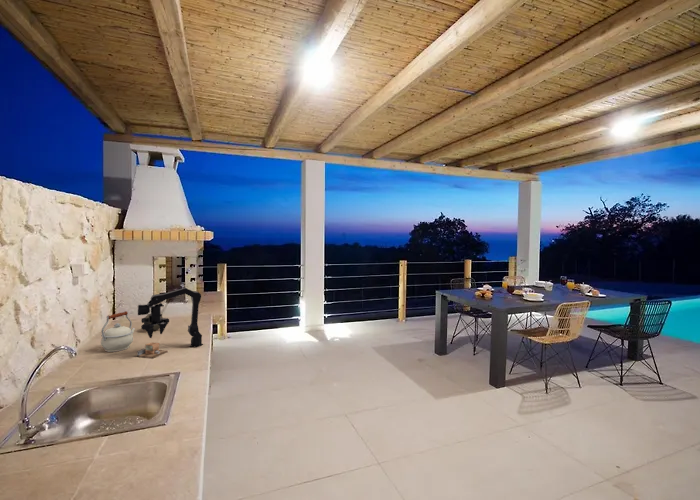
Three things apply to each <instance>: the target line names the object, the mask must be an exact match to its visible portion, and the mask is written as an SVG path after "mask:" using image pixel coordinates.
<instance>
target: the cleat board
mask: <svg viewBox="0 0 700 500" xmlns="http://www.w3.org/2000/svg"><path fill="white" fill-rule="evenodd" d="M166 353H168V350H164V349H159V351H154V354H145V348H143V349H141V350H137V351H136V354H137V356H136V357H138V358H144V359H145V358H146V359H154V358H157V357H159V356H162V355H165V354H166Z"/></svg>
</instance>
